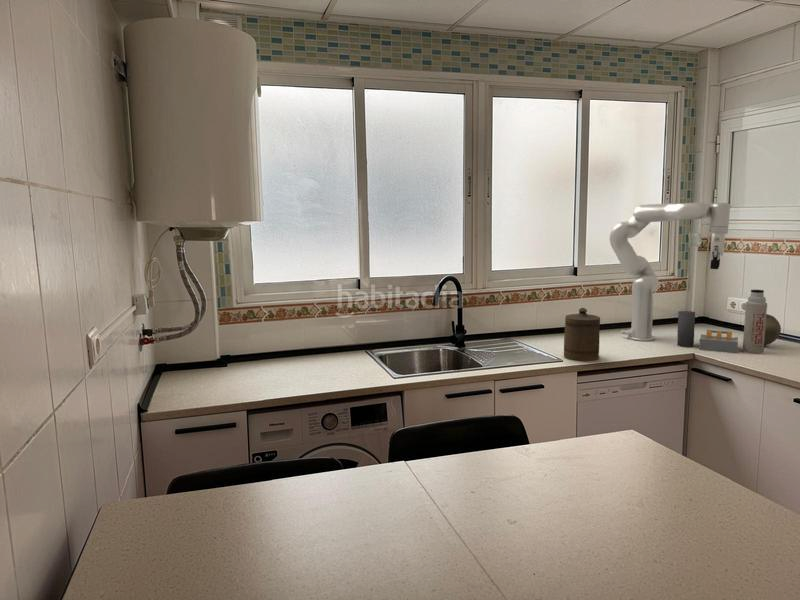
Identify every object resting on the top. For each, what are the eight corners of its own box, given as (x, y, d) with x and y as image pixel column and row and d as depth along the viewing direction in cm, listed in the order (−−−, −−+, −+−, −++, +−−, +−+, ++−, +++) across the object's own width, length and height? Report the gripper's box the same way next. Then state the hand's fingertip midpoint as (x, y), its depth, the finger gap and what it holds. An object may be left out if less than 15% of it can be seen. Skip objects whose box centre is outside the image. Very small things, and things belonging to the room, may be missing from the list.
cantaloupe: (740, 346, 263) (742, 314, 260) (747, 341, 273) (749, 310, 271) (776, 351, 253) (779, 318, 251) (782, 345, 263) (785, 313, 261)
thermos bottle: (765, 354, 248) (770, 291, 243) (744, 353, 250) (748, 290, 246) (761, 350, 255) (766, 289, 251) (740, 349, 258) (745, 288, 254)
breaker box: (699, 349, 258) (699, 338, 257) (700, 344, 268) (701, 333, 268) (737, 353, 251) (737, 341, 250) (737, 347, 261) (737, 336, 260)
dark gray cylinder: (680, 347, 263) (681, 313, 261) (674, 343, 270) (676, 311, 268) (696, 347, 263) (697, 313, 260) (690, 343, 269) (691, 310, 267)
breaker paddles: (706, 337, 261) (706, 330, 260) (706, 335, 262) (707, 329, 261) (731, 339, 256) (731, 332, 255) (731, 337, 257) (732, 331, 256)
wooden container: (602, 355, 252) (604, 306, 248) (594, 362, 239) (595, 311, 236) (569, 351, 259) (570, 304, 256) (559, 358, 247) (560, 309, 244)
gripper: (727, 231, 246) (723, 270, 249) (728, 230, 261) (724, 266, 264) (707, 230, 250) (704, 269, 253) (710, 229, 265) (706, 265, 267)
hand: (714, 268), depth 258 cm, fingers open, 9 cm apart
